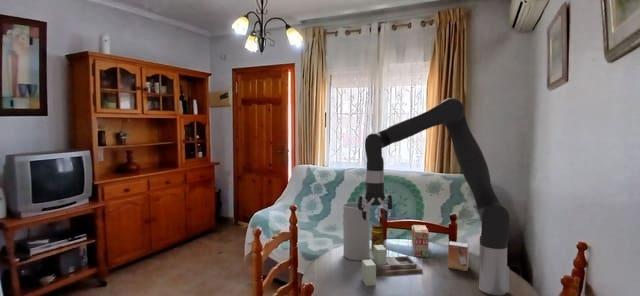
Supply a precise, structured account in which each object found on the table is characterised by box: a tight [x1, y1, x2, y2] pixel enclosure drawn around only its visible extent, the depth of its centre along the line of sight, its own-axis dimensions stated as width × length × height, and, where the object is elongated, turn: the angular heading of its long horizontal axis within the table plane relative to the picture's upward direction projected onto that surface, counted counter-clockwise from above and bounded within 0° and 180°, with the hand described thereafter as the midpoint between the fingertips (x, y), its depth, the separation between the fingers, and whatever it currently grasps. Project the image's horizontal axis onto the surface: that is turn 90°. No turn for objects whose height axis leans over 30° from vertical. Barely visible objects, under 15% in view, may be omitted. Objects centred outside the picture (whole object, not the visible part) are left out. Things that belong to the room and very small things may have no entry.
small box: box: [447, 240, 470, 272], centre depth 148 cm, size 8×6×10 cm
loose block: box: [361, 259, 377, 287], centre depth 134 cm, size 4×6×8 cm, turn 8°
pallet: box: [367, 255, 423, 277], centre depth 148 cm, size 22×14×3 cm, turn 98°
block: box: [372, 244, 388, 266], centre depth 147 cm, size 4×6×8 cm, turn 8°
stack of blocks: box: [411, 224, 430, 258], centre depth 171 cm, size 21×6×12 cm, turn 169°
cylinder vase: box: [342, 201, 371, 262], centre depth 161 cm, size 12×12×25 cm
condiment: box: [370, 223, 387, 251], centre depth 174 cm, size 7×8×12 cm
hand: (374, 219), depth 140 cm, fingers open, 8 cm apart
